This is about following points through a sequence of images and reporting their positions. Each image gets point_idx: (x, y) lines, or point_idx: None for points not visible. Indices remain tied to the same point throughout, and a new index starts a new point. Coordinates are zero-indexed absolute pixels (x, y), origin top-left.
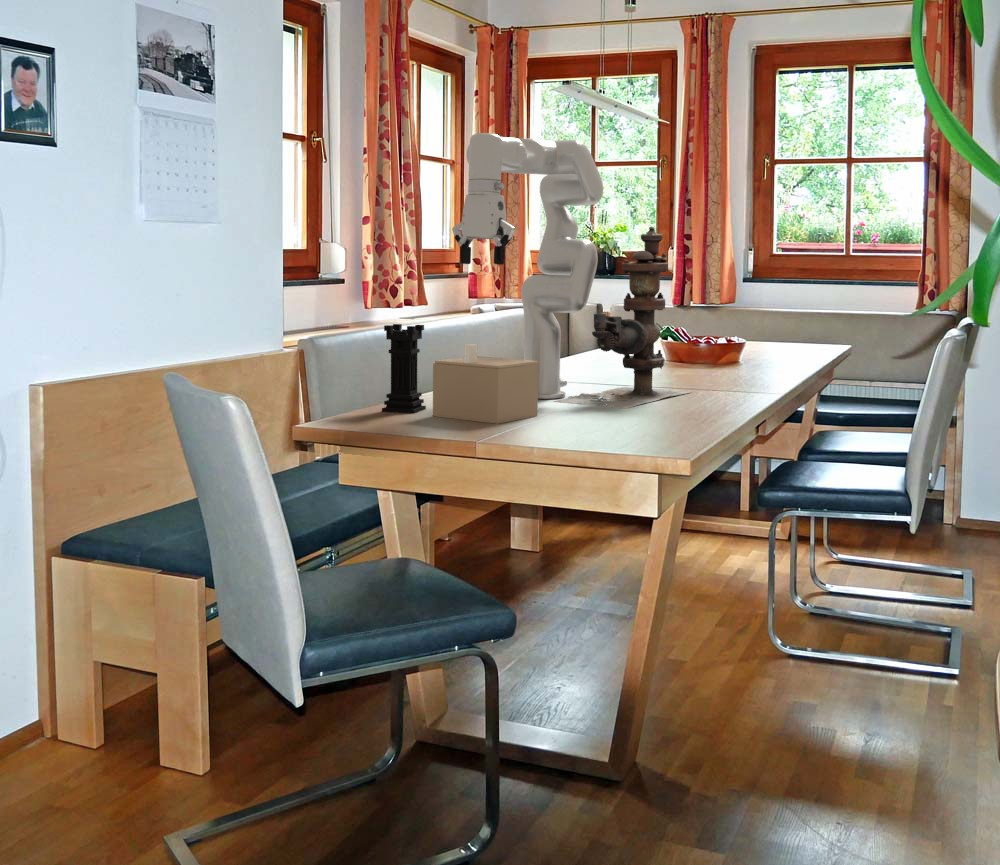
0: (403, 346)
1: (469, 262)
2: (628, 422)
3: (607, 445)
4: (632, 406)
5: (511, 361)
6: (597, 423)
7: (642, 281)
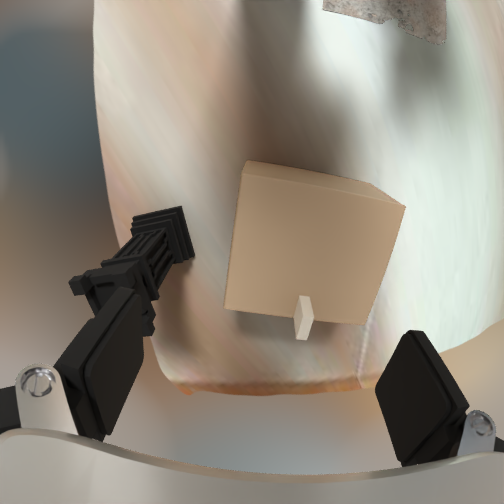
0: None
1: (139, 308)
2: (479, 184)
3: (462, 332)
4: (445, 28)
5: (363, 246)
6: (452, 211)
7: None
